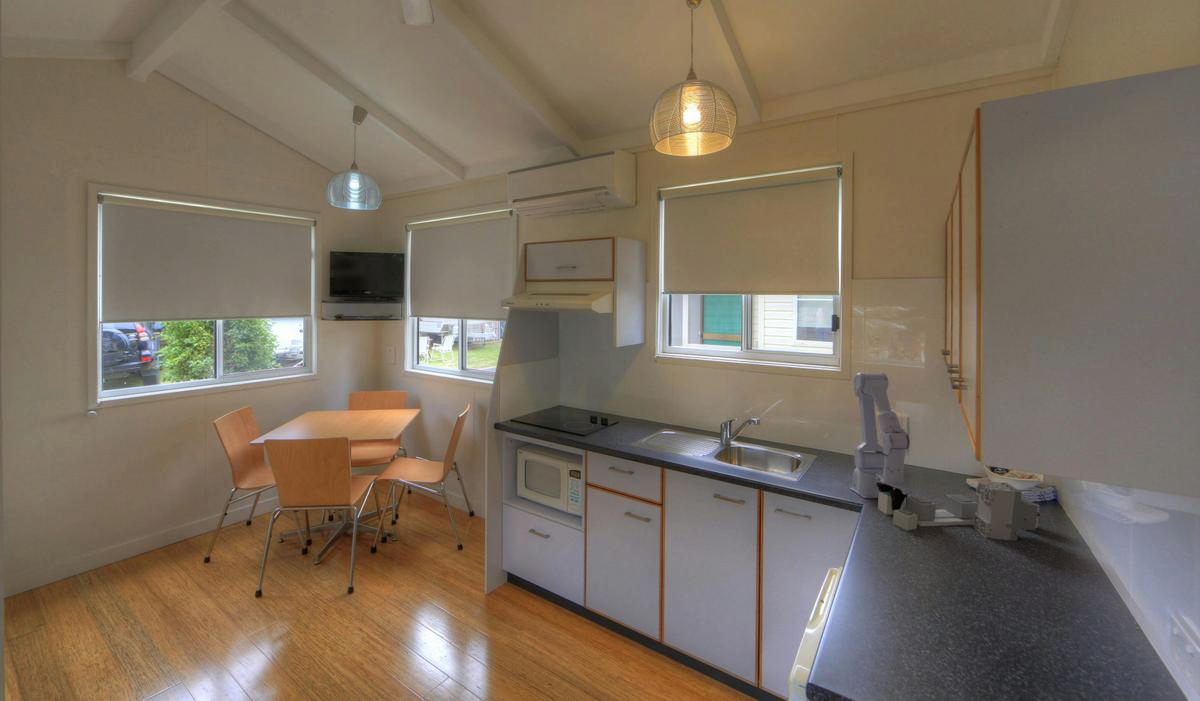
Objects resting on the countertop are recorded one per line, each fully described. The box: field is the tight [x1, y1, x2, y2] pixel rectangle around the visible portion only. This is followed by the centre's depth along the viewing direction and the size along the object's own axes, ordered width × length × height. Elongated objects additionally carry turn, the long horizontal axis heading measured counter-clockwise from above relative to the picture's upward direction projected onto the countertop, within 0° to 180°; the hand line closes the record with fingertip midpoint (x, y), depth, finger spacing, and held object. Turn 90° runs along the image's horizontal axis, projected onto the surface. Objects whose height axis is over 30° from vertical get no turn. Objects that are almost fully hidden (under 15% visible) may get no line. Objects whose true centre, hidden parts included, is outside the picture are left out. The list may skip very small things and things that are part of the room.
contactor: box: [892, 508, 918, 531], centre depth 163 cm, size 5×4×5 cm
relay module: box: [877, 492, 906, 515], centre depth 174 cm, size 4×6×6 cm
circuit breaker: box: [972, 480, 1040, 542], centre depth 157 cm, size 8×14×15 cm, turn 78°
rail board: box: [904, 494, 978, 527], centre depth 168 cm, size 9×20×7 cm, turn 96°
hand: (890, 507), depth 174 cm, fingers closed on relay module, 4 cm apart
